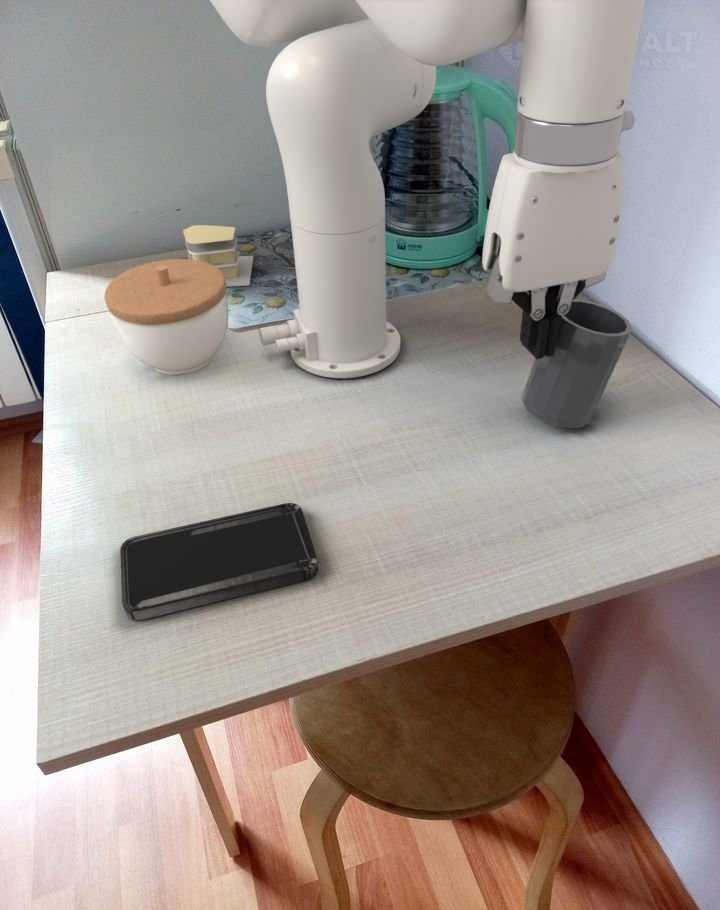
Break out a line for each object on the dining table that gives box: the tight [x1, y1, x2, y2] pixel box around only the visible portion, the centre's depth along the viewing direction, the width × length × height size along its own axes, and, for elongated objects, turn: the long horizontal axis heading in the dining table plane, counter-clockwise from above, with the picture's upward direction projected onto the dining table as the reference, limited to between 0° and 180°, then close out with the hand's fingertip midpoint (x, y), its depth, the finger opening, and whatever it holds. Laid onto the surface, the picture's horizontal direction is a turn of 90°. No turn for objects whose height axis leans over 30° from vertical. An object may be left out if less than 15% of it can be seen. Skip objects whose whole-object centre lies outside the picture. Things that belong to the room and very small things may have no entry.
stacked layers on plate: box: [182, 224, 254, 288], centre depth 95 cm, size 10×9×6 cm
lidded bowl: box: [104, 258, 229, 376], centre depth 77 cm, size 13×13×11 cm
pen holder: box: [521, 298, 633, 429], centre depth 67 cm, size 7×7×10 cm
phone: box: [119, 502, 319, 621], centre depth 57 cm, size 8×1×15 cm
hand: (537, 349), depth 64 cm, fingers closed
